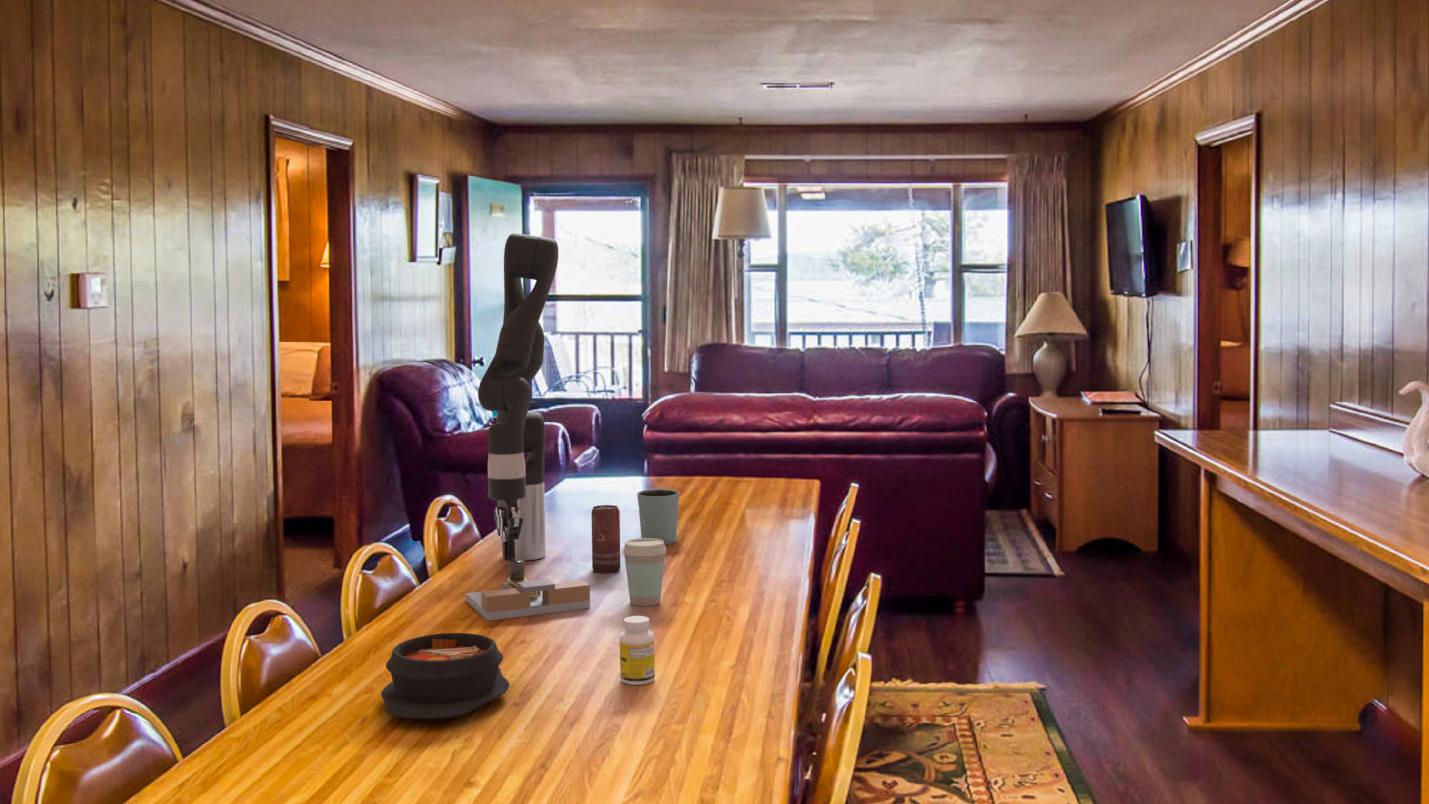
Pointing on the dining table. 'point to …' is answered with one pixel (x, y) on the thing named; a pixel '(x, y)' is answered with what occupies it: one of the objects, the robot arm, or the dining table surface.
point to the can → (605, 539)
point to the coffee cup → (644, 570)
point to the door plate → (530, 599)
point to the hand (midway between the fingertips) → (508, 559)
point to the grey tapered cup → (658, 514)
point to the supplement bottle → (637, 652)
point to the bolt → (518, 575)
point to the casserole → (443, 676)
